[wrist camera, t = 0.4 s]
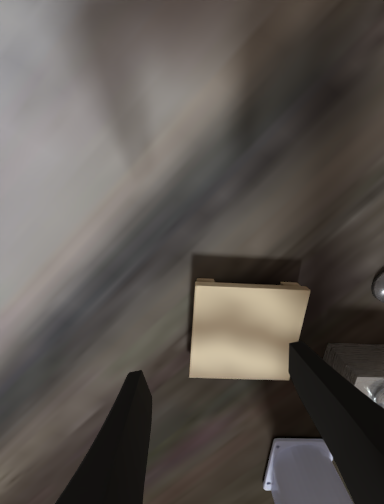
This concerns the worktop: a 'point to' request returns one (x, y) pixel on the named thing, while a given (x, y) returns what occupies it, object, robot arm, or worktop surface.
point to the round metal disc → (378, 287)
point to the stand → (245, 329)
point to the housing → (359, 366)
